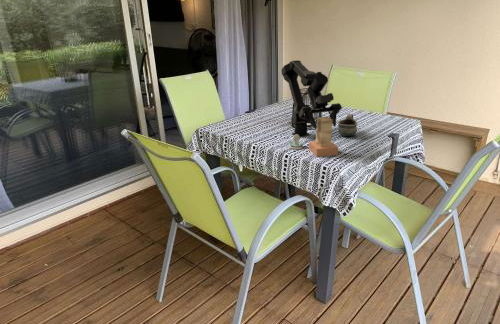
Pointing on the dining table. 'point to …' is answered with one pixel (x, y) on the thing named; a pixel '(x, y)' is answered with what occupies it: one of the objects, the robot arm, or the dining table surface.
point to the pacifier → (296, 143)
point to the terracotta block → (323, 149)
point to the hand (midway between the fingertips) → (325, 127)
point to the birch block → (324, 131)
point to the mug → (347, 126)
